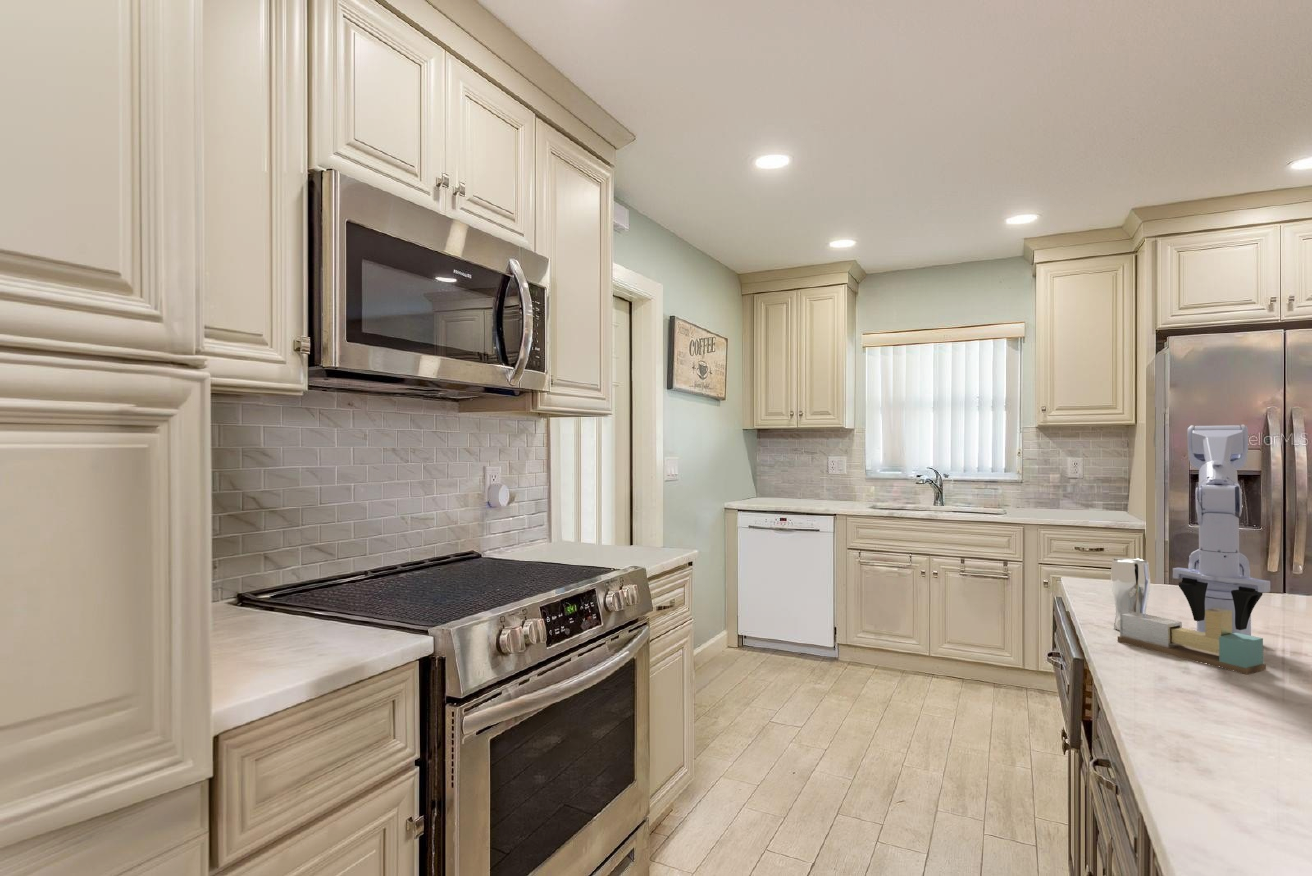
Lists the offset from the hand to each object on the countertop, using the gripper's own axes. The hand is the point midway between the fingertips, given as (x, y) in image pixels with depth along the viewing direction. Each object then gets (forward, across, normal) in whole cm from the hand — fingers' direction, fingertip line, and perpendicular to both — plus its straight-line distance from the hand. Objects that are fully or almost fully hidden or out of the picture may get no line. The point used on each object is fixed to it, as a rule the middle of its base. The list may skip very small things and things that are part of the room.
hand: (1219, 624), depth 126 cm
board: (+7, -5, 0) cm, 9 cm away
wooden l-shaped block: (+5, -3, 0) cm, 6 cm away
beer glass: (+7, -20, +8) cm, 23 cm away
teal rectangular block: (+6, +3, 0) cm, 7 cm away
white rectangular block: (+6, -12, 0) cm, 13 cm away
